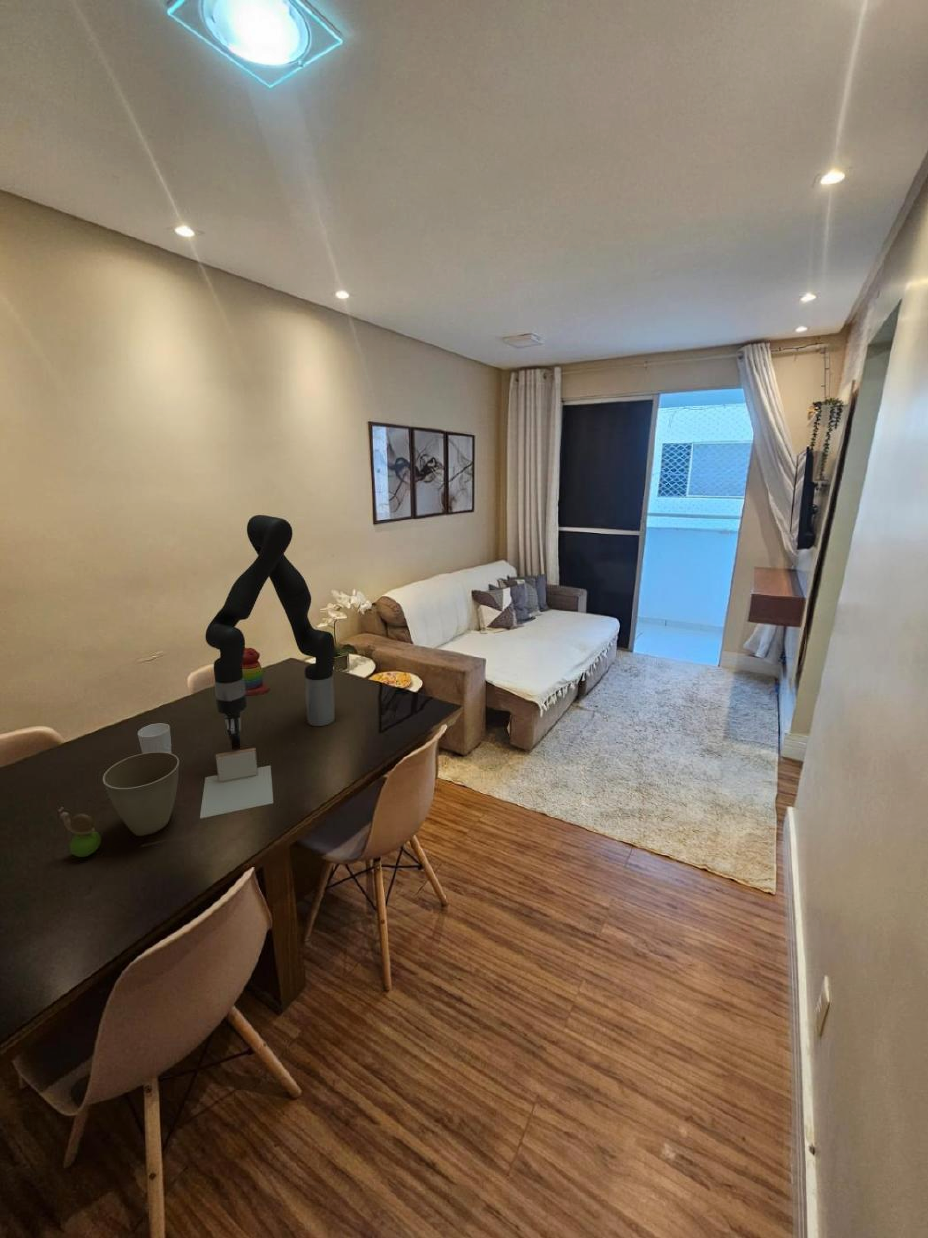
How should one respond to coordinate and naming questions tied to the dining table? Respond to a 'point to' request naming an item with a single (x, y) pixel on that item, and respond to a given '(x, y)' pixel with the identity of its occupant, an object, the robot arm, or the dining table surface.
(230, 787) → the mat
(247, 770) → the tile
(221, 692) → the robot arm
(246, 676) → the stacking bear
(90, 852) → the snail figurine
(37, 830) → the dining table surface
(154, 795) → the plant pot
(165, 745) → the white cup
